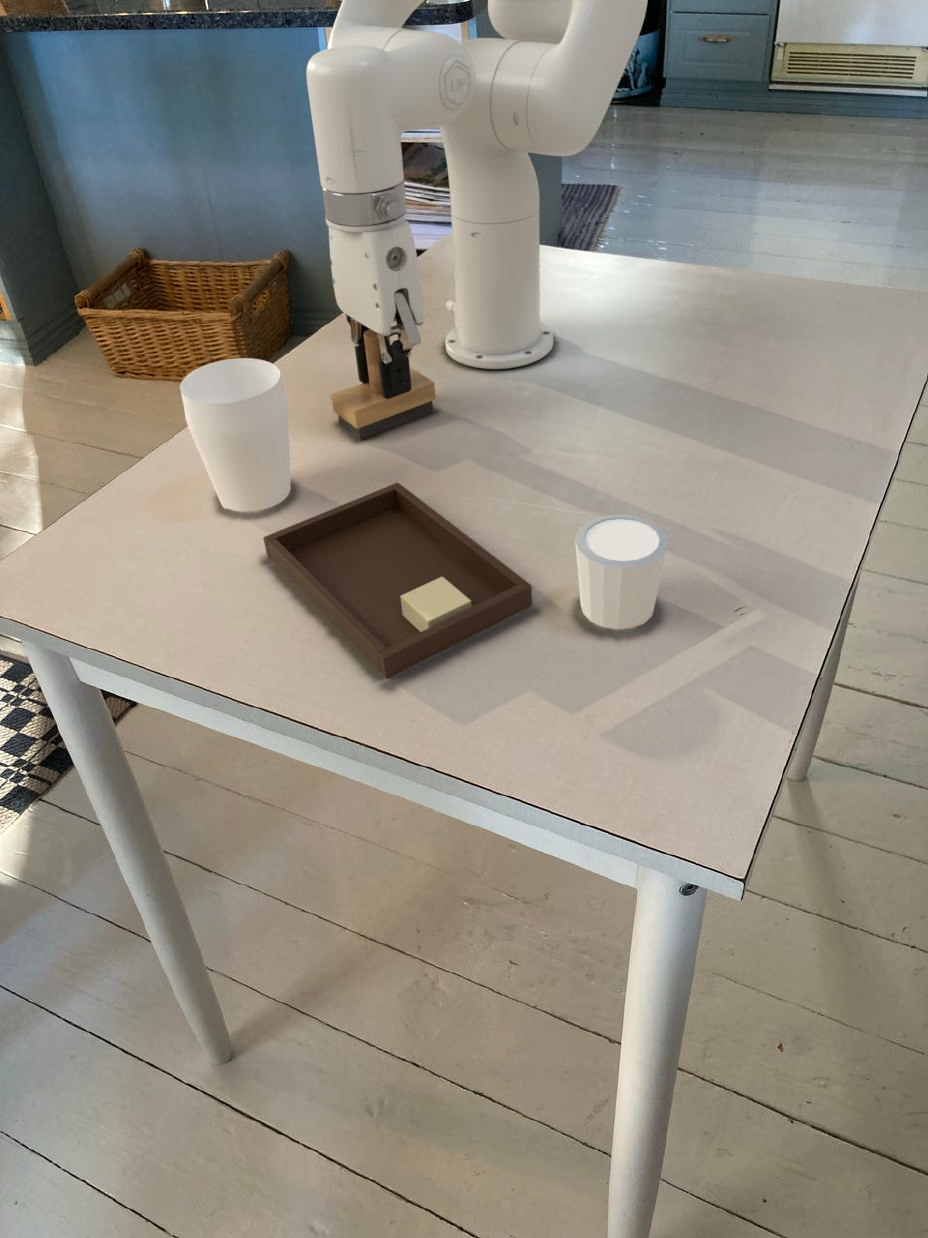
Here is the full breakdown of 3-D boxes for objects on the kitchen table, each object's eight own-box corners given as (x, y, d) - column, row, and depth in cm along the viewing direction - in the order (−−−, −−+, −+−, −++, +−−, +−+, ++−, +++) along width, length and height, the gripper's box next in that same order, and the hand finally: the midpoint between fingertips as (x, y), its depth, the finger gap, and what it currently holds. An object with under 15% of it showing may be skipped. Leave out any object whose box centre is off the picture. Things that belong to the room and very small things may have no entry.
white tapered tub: (676, 627, 76) (684, 554, 72) (593, 648, 75) (596, 574, 71) (639, 576, 82) (644, 505, 77) (560, 595, 80) (561, 523, 76)
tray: (268, 561, 86) (262, 537, 84) (400, 505, 92) (397, 481, 90) (387, 684, 73) (383, 658, 72) (532, 611, 79) (531, 585, 77)
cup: (305, 516, 91) (283, 397, 84) (206, 529, 90) (174, 410, 83) (301, 466, 98) (281, 351, 90) (209, 478, 97) (180, 363, 90)
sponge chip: (402, 615, 78) (399, 595, 77) (444, 595, 80) (442, 575, 79) (430, 641, 76) (428, 621, 75) (472, 620, 78) (471, 600, 76)
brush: (335, 424, 104) (322, 338, 98) (412, 396, 108) (404, 312, 102) (358, 442, 101) (346, 354, 95) (436, 412, 105) (430, 326, 99)
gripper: (450, 214, 87) (461, 404, 99) (354, 174, 98) (374, 349, 110) (377, 235, 84) (397, 428, 96) (286, 191, 95) (314, 369, 106)
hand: (385, 384), depth 102 cm, fingers open, 3 cm apart
